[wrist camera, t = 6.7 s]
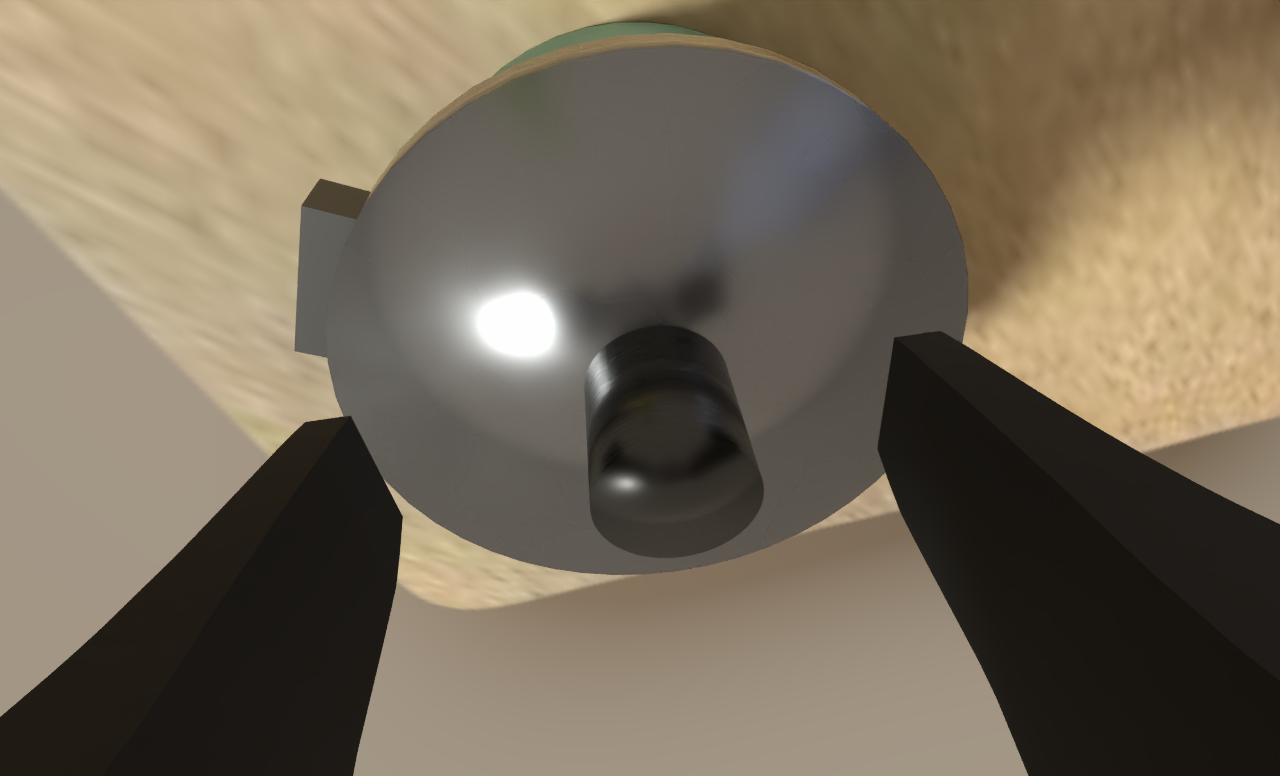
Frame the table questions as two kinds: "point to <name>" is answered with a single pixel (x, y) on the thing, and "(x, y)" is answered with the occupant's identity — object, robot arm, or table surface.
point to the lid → (639, 303)
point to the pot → (340, 205)
